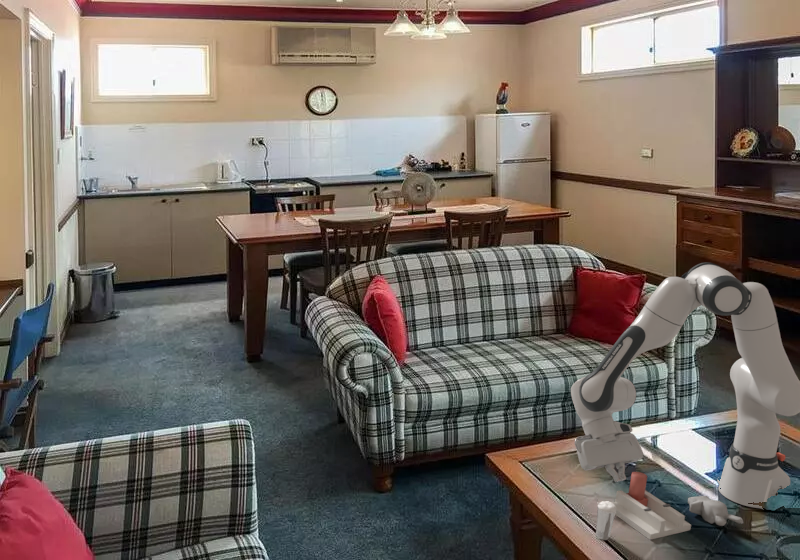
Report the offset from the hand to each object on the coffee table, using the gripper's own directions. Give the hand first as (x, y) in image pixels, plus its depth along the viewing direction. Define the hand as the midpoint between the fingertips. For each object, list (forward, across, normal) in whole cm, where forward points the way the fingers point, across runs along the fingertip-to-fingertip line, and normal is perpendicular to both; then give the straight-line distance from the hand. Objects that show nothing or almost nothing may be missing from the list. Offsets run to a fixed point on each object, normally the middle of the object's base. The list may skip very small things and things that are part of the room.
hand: (620, 480), depth 205 cm
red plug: (+7, 0, -2) cm, 7 cm away
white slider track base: (+12, 0, -4) cm, 12 cm away
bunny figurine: (+16, +17, -8) cm, 25 cm away
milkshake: (+14, -18, -6) cm, 23 cm away
